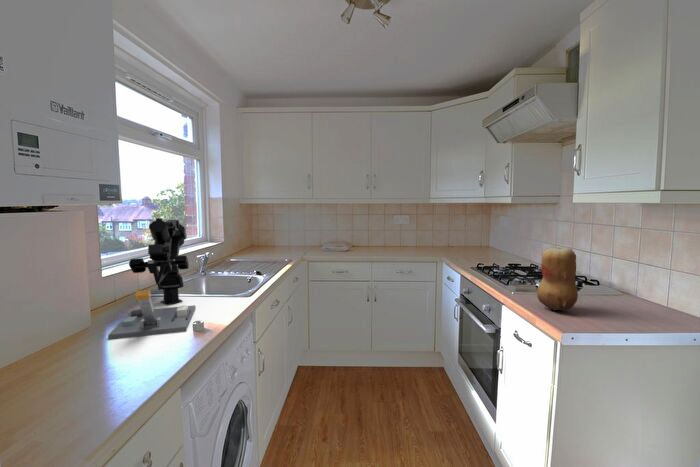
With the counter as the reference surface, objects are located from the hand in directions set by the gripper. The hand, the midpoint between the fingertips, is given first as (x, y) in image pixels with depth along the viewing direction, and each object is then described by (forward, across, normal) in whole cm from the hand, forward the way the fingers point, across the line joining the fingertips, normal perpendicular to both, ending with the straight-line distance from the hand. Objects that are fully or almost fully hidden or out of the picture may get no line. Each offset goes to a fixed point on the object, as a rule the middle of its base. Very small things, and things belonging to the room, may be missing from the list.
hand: (157, 283), depth 120 cm
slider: (+10, +7, +7) cm, 14 cm away
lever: (+15, 0, 0) cm, 15 cm away
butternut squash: (+35, +146, -12) cm, 151 cm away
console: (+11, -1, +8) cm, 14 cm away
